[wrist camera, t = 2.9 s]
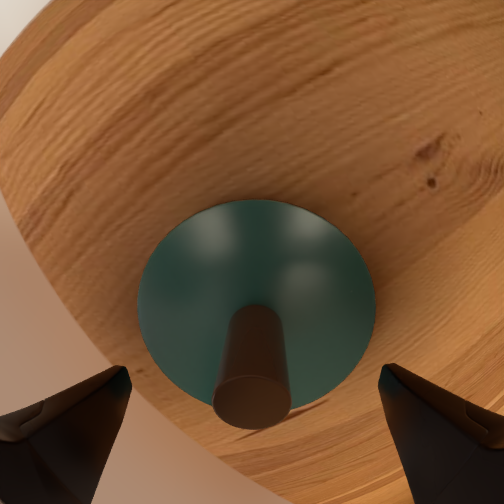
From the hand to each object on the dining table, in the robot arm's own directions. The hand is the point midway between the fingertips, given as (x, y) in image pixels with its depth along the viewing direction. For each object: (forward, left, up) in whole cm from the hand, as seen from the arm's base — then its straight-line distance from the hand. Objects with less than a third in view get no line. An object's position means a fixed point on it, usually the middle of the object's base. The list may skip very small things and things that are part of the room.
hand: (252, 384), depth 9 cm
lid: (0, 0, -4) cm, 4 cm away
